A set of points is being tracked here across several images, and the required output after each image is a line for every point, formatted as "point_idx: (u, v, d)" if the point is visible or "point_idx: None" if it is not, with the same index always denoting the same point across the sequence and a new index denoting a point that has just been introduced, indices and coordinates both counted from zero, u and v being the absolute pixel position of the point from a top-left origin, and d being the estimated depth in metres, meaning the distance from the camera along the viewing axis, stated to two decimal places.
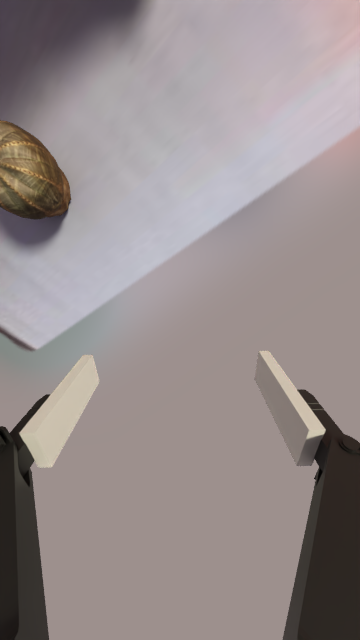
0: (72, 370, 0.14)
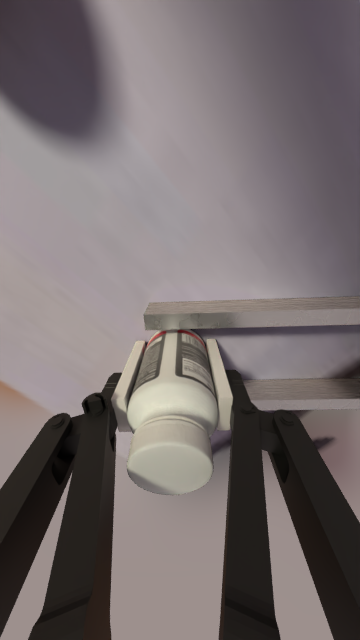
0: (132, 353, 0.15)
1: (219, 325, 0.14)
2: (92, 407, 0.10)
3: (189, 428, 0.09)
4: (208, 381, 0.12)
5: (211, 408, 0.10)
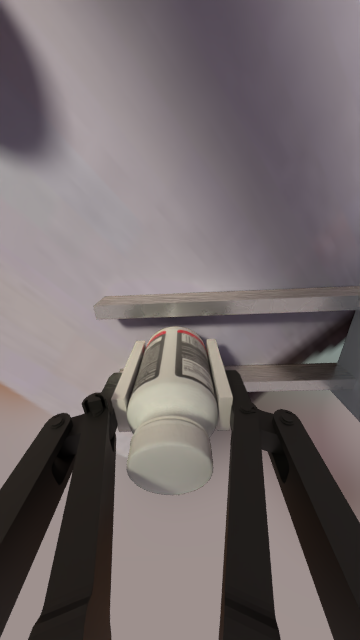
0: (132, 353, 0.15)
1: (160, 314, 0.16)
2: (92, 407, 0.10)
3: (189, 428, 0.09)
4: (208, 381, 0.12)
5: (211, 408, 0.10)
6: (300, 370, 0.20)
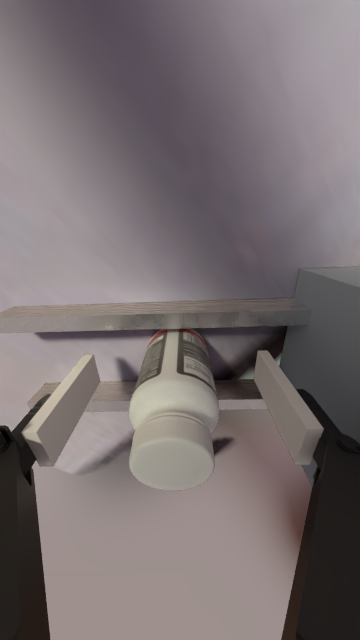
0: (73, 370, 0.14)
1: (62, 328, 0.14)
2: None
3: (190, 425, 0.09)
4: (209, 379, 0.12)
5: (213, 405, 0.11)
6: (234, 387, 0.18)
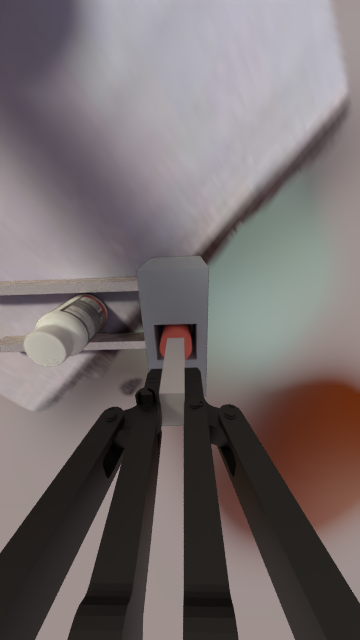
0: (167, 349, 0.15)
1: (7, 293, 0.24)
2: (143, 400, 0.11)
3: (53, 329, 0.18)
4: (82, 317, 0.21)
5: (76, 326, 0.20)
6: (127, 336, 0.28)
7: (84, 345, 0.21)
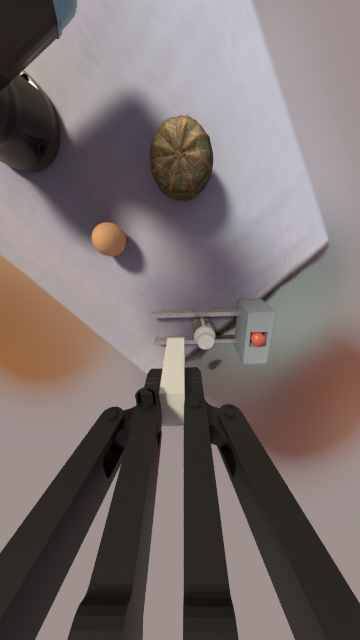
0: (167, 349, 0.15)
1: (171, 316, 0.51)
2: (143, 400, 0.11)
3: (209, 334, 0.46)
4: (212, 328, 0.49)
5: (213, 332, 0.47)
6: (220, 336, 0.55)
7: (213, 340, 0.49)
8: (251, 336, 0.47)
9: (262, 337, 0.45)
